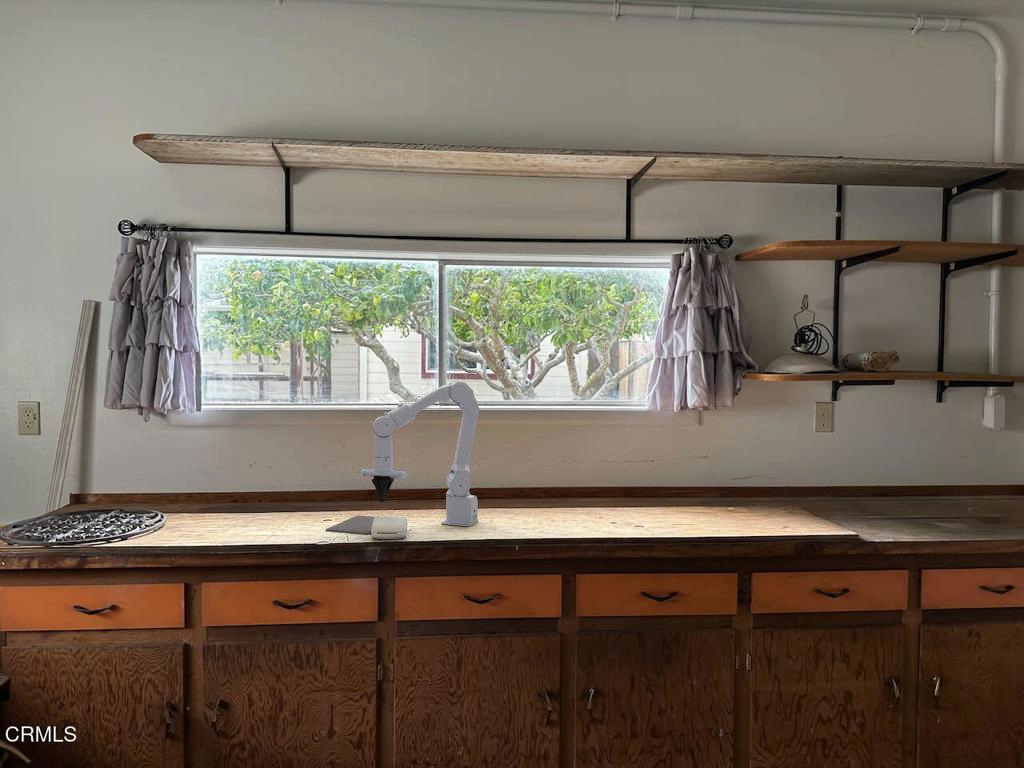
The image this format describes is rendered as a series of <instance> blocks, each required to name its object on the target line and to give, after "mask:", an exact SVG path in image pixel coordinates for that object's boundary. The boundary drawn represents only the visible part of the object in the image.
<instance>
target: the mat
mask: <svg viewBox="0 0 1024 768" xmlns="http://www.w3.org/2000/svg"><path fill="white" fill-rule="evenodd" d="M374 517H375V516H370V515H359V514H357V515H355V516H352V517H351V518H347V519H346V520H343V521H342V522H341V521H340V522H339V523H336V524H334V525H332V526H329V527H327V528H325V531H326V532H335V533H336V532H337V533H343V532H345V533H347V534H354V533H355V534H357V535H366V536H367V535H371V527H372V523H373V520H374Z"/></svg>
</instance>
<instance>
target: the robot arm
mask: <svg viewBox="0 0 1024 768" xmlns="http://www.w3.org/2000/svg"><path fill="white" fill-rule="evenodd" d="M451 401H452V402H453V403H455V404H456V405H457V407H458V408H459V409H460V410H461V412H462V416H461V421H460V427H459V432H458V437H457V442H456V448H455V453H454V458H453V462H452V465H451V467H450V470H449V472H448V473H447V475H446V477H445V484H446V486H447V488H448V490H447V491H446V493H445V494H446V495H445V496H446V497H445V502H446V504H445V508H446V511H445V518H446V519H445V520H444V521H441V525H450V526H463V527H471V526H473V525H474V524H476V523H477V522H478V521H479V519H478V518H479V517H478V513H479V512H478V510H479V509H478V504H479V503H478V501H479V500H478V497H477V495H473V494H471V493H470V488H471V481H470V473H471V471H470V461H471V458H472V457H471V456H472V452H473V447H474V443H475V442H474V441H475V437H476V436H475V435H476V431H477V426H478V425H477V424H478V420H479V415H480V407H479V403H478V402H477V398H476V396H475V392H474V389H472V388H471V386H470V385H469V384H468V383H467V382H464V381H459V380H453V381H450V382H449V383H447V384H444V385H441V386H439V387H437V388H435V389H433V390H432V391H430V392H429V393H427V394H426V395H424V396H423V397H421V398H419V399H418V400H416V401H414V402H412V404H411V403H407V402H403V403H401V402H400V403H398V404H397V407H395V408H394V409H391V410H390V411H388V412H387V411H386V412H383V415H384V416H378V417H377V418H375V420H374V421H373V423H372V426H371V427H372V430H373V432H374V433H373V434H374V435H373V441H372V442H373V444H372V445H373V446H372V452H373V453H372V454H373V456H372V457H373V459H372V460H373V464H372V465H373V468H371V469H366V468H364V469H361V470H360V471H359V472H360V473H359V476H360V477H362V478H363V477H369V478H371V477H373V479H372V478H371V482H372V484H373V486H374V488H375V490H376V492H377V496H378V500H379V502H381V503H384V502H387V501H388V495H389V492H390V489H391V487H392V485H393V483H394V480H395V479H400V480H405V479H406V478H407V471H401V470H396V469H395V470H394V468H393V466H394V465H393V464H394V463H393V458H394V457H393V456H394V453H393V452H394V451H393V450H394V449H393V448H394V447H393V446H394V445H393V440H392V439H393V438H392V437H393V433H394V430H399V429H400V428H402V427H404V426H405V425H407V424H408V423H410V422H412V421H414V420H415V419H416V416H417V414H418V413H419V412H422V411H423V410H425V409H427V408H429V407H431V406H433V405H435V404H437V403H438V402H451Z"/></svg>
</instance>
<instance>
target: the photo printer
mask: <svg viewBox="0 0 1024 768" xmlns="http://www.w3.org/2000/svg"><path fill="white" fill-rule="evenodd" d="M373 517H374V520H373V523H372V527H371V533H370V535H372V536H371V537H372V538H373V539H376V540H377V539H378V540H379V539H380V540H398V539H403V538H406V535H407V534H408V518H407V517H406V516H403V515H379V516H373Z"/></svg>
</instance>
